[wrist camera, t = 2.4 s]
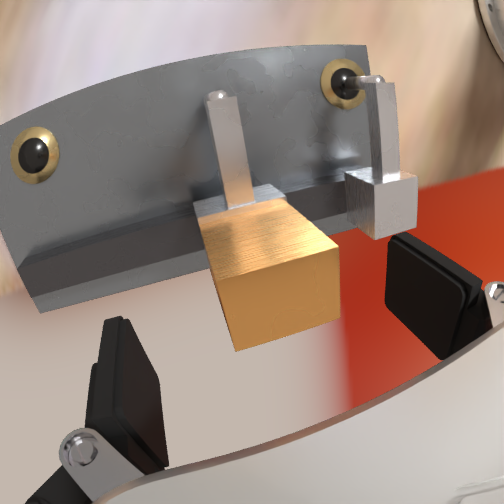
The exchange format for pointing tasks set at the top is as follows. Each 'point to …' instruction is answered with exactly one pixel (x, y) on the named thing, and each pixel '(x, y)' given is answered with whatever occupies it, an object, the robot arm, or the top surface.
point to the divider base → (193, 165)
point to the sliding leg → (261, 246)
